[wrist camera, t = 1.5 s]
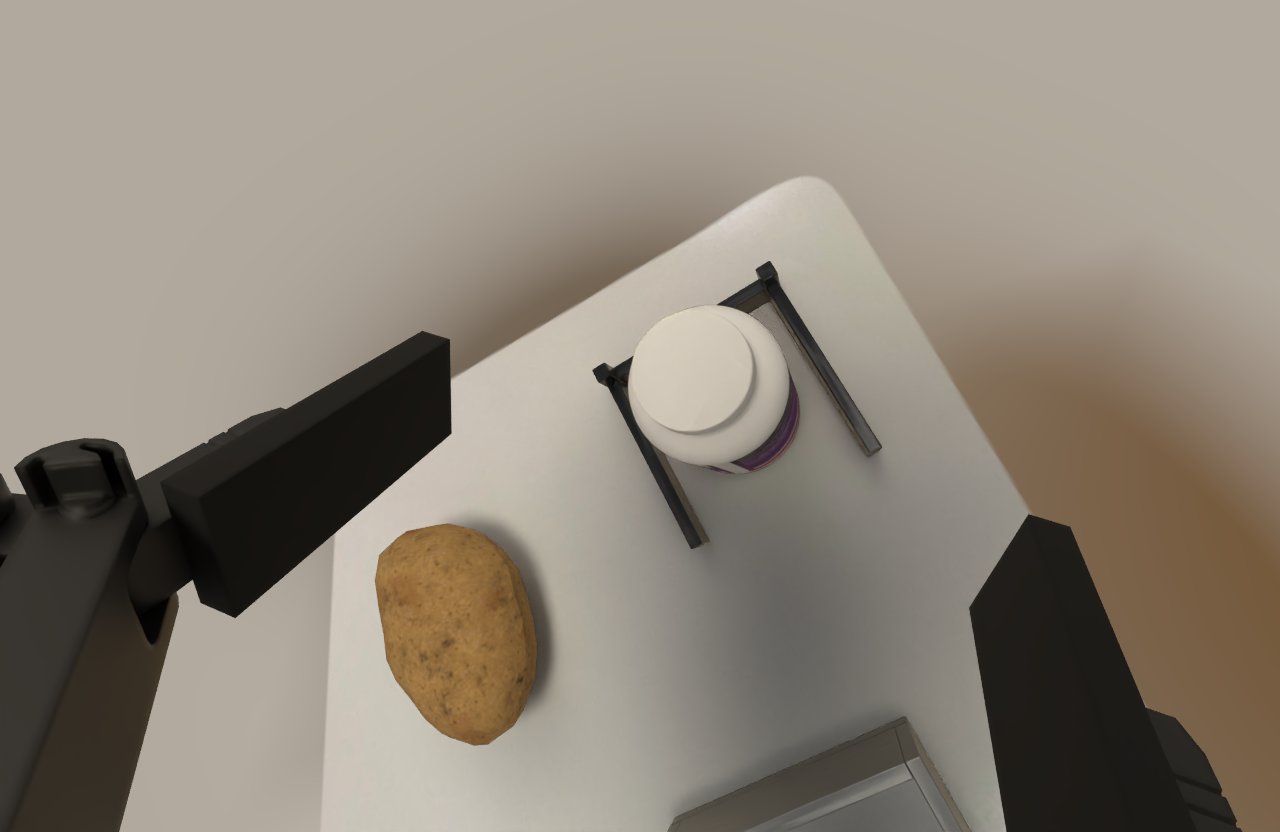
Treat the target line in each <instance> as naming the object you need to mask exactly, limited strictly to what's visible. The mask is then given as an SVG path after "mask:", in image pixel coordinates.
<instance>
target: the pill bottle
mask: <svg viewBox="0 0 1280 832" xmlns="http://www.w3.org/2000/svg"><path fill="white" fill-rule="evenodd" d="M628 394H629V401H630V405H631V409H632V412H633V415H634V417H635V420H636V422H637V424H638V426H639V428H640V429H641V431H642V432H643V434H644V435H645V436H646V438H647V439H648V440H649V441H650V442H651V443H652V444H653V445H654V446H655V447H657V448H658V449H659V450H660V451H662V452H663V453H665V454H666V455H668V456H670V457H672V458H674V459H677V460H679V461H682V462H685V463H689V464H693V465H697V466H701V467H705V468H708V469H711V470H715V471H718V472H722V473H729V474H742V473H749V472H753V471H756V470H759V469H761V468H764V467H766V466H767V465H769V464H771V463H772V462H774V461H775V460H776V459H777V458H779V457H780V456H781V455H782V454H783V453H784V451H785V450H786V449H787V448H788V446H789V445H790V443H791V441H792V440H793V438H794V435H795V433H796V430H797V427H798V422H799V414H800V410H799V399H798V395H797V391H796V388H795V386H794V383H793V380H792V377H791V374H790V372H789V369H788V366H787V363H786V360H785V357H784V355H783V352H782V350H781V348H780V346H779V344H778V343H777V341H776V339H775V338H774V336H773V335H772V334H771V333H770V331H769V330H768V329H767V328H766V327H765V326H764V325H762V324H761V323H760V322H759V321H757V320H756V319H755V318H753V317H752V316H750V315H748V314H746V313H744V312H742V311H740V310H737V309H734V308H731V307H725V306H718V305H703V306H696V307H692V308H688V309H685V310H682V311H679V312H677V313H675V314H672V315H670V316H668V317H666V318H664V319H662V320H661V321H659V322H658V323H656V324H655V325H654V326H653V327H652V328H651V329H650V330H649V331H648V332H647V333H646V334H645V335H644V337H643V338H642V340H641V341H640V343H639V345H638V347H637V349H636V351H635V354H634V357H633V361H632V365H631V369H630V373H629V381H628Z"/></svg>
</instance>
